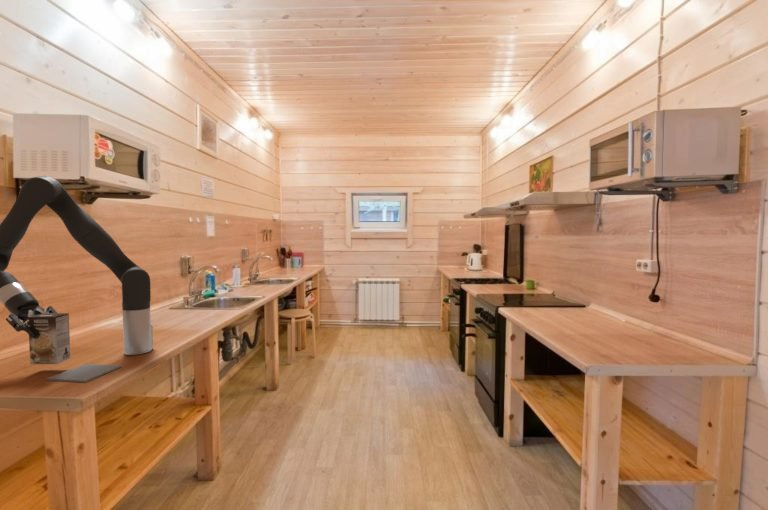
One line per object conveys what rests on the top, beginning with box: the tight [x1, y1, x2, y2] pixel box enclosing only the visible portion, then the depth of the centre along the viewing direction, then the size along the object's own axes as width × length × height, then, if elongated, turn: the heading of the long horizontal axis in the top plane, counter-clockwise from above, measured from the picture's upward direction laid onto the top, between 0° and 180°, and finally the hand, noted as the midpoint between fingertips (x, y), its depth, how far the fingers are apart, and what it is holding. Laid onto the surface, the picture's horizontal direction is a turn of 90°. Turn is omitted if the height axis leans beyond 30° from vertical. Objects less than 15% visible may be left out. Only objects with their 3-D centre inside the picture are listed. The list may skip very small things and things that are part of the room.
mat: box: [46, 363, 122, 383], centre depth 130 cm, size 14×14×1 cm
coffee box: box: [28, 312, 71, 365], centre depth 132 cm, size 9×6×16 cm
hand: (49, 333), depth 132 cm, fingers closed on coffee box, 7 cm apart
